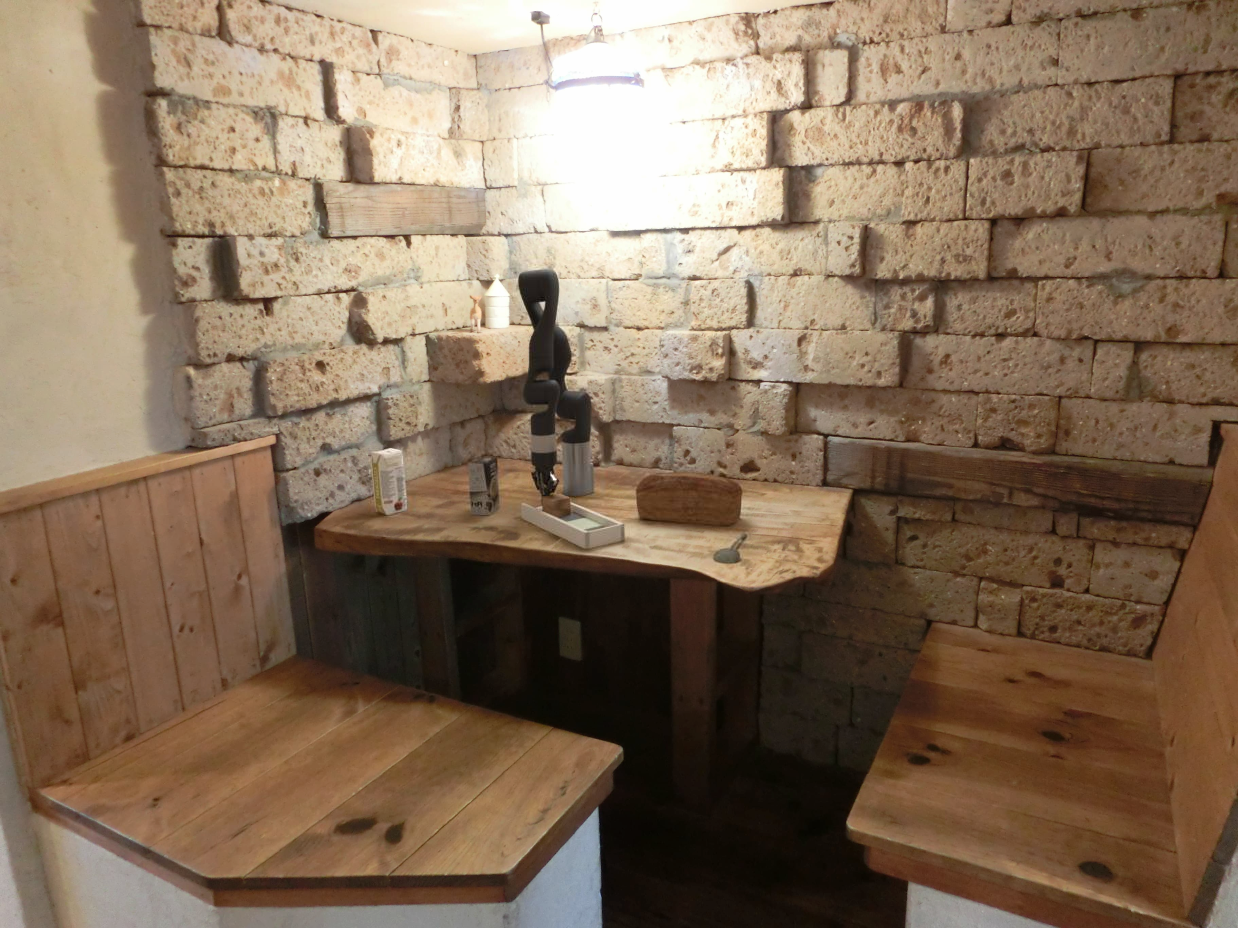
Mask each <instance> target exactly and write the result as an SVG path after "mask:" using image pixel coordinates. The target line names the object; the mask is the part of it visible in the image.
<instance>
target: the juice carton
mask: <svg viewBox="0 0 1238 928" xmlns="http://www.w3.org/2000/svg"><path fill="white" fill-rule="evenodd" d="M370 466H371V468H370V469H371V475H372V476H371V477H372V489H373V490H372V491H373V499H374V506H375V510H376V513H379V514H382V515H386V516H390V515H394V514H398V513H403V512H406V511H407V509H408V508H407V506H408V504H407V503H408V502H407V501H408V500H407V488H406V477H405V476H406V475H405V473H406V472H405V463H404V456H403V450H401V449H397V448H391V447H390V448H385V449H383V450H377V451H376V450H375V451H371V452H370Z"/></svg>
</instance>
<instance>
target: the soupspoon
mask: <svg viewBox="0 0 1238 928" xmlns="http://www.w3.org/2000/svg"><path fill="white" fill-rule="evenodd" d="M747 538H748V534H747V533H746V532H742V533H741V535H739V537H737V539H736V540H735V541H734V542H733V544H731V546H730V547H728V548H727V547H726V548H721V549H718V550H717V551H715V552H714V554H713V557H712V559H713V561H714V562H715V563H719V564H723V565H725V564H726V565H729V564H730V565H731V564H737V563H738V561H739V559H740V557H741V554H740V552H739V551H738V550H737V549H735V547H736V545H737V544H738V543H739V541H741V540H742V539H747Z"/></svg>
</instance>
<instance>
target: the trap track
mask: <svg viewBox="0 0 1238 928" xmlns="http://www.w3.org/2000/svg"><path fill="white" fill-rule="evenodd" d="M570 503H571V514H570V515H566V516H561V517H554V516H552V515H550V514H548V513H546V512H543V511H542V505H541V506H537V507H534V506H531V505H530V504H528V503H520V510H521V519H522V520H523V521H526V522H528V523H530V524H532V525H535V526H536V527H538V528H540V529H543V530H545V531H546V532H549V533H551V534H553V535H555V536H558V537H559V538H561V537H562V538H561V539H563V538H564V540H565V539H566V540H565V541H567V540H568V541H567V542H570V543H572V544H574V545H577V546H578V547H580V548H582V549H584V550H590V549H594V548H598V547H601V546H606V545H610V544H614V543H618V542H621V541H622V540H623V541H625V540H626V538H625V537H626V536H625V523H623V522H621V521H619V520H615V519H613V518H612V517H608V516H606V515H603V514H602V513H598V512H596V511H594V510H592V509H589V508H587V507H584V506H581V505H579V504H577V503H574V502H572V501H570ZM623 541H622V542H623ZM613 542H614V543H613ZM609 543H610V544H609ZM597 546H598V547H597ZM593 547H594V548H593Z"/></svg>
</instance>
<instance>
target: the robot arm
mask: <svg viewBox="0 0 1238 928" xmlns="http://www.w3.org/2000/svg"><path fill="white" fill-rule="evenodd" d="M517 279H518V280H517V284H518V291H519V294H520V297H521V300H522V302H523V306H524V308H525V310H526V312H527V315H528V317H529V320H530V322H531V325H532V329H533V332H532V334H531V336H530V339H529V342H528V344H529V345H528V368H527V369H528V370H527V375H526V377H525V381H524V385H523V389H522V398H523V400H524V403H526V404H527V405H529V406H542V405H543V406H545V405H547V408H546V409H545V410H541V411H537V412H534V413H532V414H531V415H530V423H529V424H530V459H531V460H530V461H531V465H532V466H533V467H534V471H531V473H530V475H531V477H532V480H533V483H534V486H535V489H536V491H538V492H539V494H540V496H541V497H540V498H541V500H540V501H541V503H542V497H543V496H548V495H552V494H555V492H556V490H557V487H558V485H559V483H560V479H559V478H556V477H555V470H554V469H555V468H554V467H555V466H556V465H557V464H558V448H557V447H558V445H557V443H558V441H557V434H556V415H557V417H558V418H559V419H561V420H568V421H574V422H575V423H574V427H573V428H571V429H566V430H565V431H562V433H561V435H560V439H561V464H562V465H561V466H562V467H561V469H562V486H563V487H562V490H563V491H562V493H563V495H565V496H572V497H573V496H574V497H580V496H586V495H589V494H592V493H594V492H595V481H594V480H595V473H594V472H595V470H594V463H593V462H591V461H592V460H591V433H592V432H591V431H592V400H591V395H590V394H589V393H588V392H586V391H581V390H580V391H577V390H568V388H567V384H566V380H565V379H566V378H565V377H566V374H567V371H568V369H569V368H570V364H571V361H572V358H573V356H572V349H571V346H570V343H569V338H568V336H567V334H566V332H565V331H564V330H563V329H562V328H561V327H560V326H559V325H558V324H557V323H556V320H557V314H558V306H559V297H560V283H559V277H558V274H557V273H556V271H555V270H554V269H553V268H543V269H542V268H541V269H533V270H527V271H522V272H520V273H519V276H518V278H517ZM541 303H544V308H543V307H542V305H541ZM543 374H546V375H547V379H537V378H538V377H539V376H541V375H543Z"/></svg>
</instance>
